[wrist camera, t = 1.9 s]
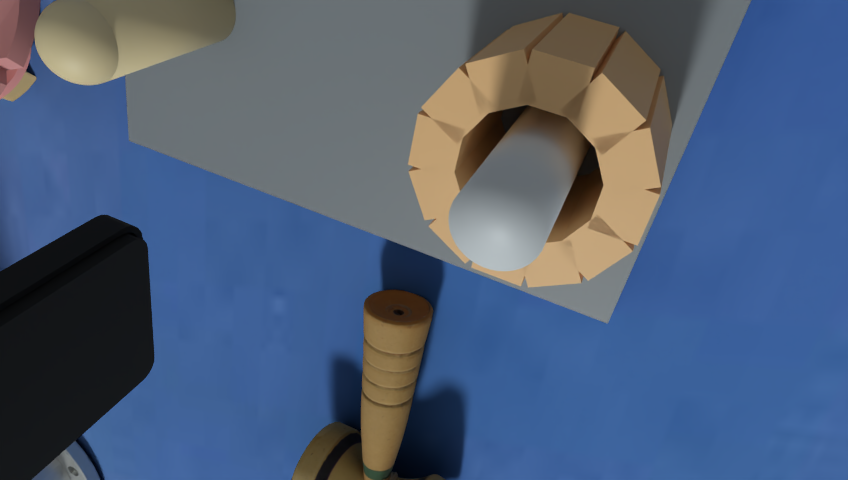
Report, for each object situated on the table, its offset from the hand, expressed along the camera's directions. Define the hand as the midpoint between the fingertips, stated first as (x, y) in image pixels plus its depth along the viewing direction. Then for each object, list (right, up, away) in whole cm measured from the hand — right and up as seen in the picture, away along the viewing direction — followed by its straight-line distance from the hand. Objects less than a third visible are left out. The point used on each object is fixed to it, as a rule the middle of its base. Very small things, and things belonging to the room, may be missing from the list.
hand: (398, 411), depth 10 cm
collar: (+5, +7, +12) cm, 15 cm away
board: (-1, +9, +15) cm, 17 cm away
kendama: (-1, -7, +24) cm, 25 cm away
